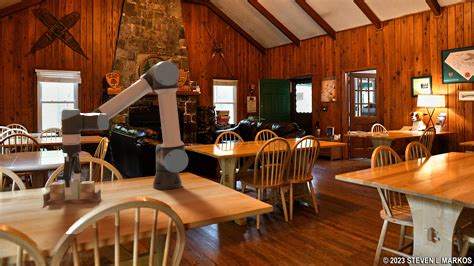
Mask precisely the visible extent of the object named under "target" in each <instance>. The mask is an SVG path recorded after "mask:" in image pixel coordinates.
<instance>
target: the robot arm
mask: <svg viewBox="0 0 474 266" xmlns="http://www.w3.org/2000/svg"><path fill="white" fill-rule="evenodd" d="M179 78H180V71H179V68H178V66H177V65H176V64H175V63H173V62H172V61H168V60H165V61H163V60H162V61H160V62H158V63H156V64H154V65H153V66H151V68H150V69H148V70H147V71H146V72H145V73H144V74H142V75H141V76H140V77H139V79H138V80H137V81H136V82H134V83H133V84H130V86H129V87H127V88H126V89H124V90H123V91H120V92H119V93H118V94H117V95H115V96H114V97H112V98H111V99H109V100H108V101H107V102H105V103H103V104H102V105H100V106H99V107H98V108H96V109H95V110H93V111H91V112H89V113H81V110H80V109H79V108H64V109H62V111H61V119H60V121H61V144H62V145H61V147H62V151H61V152H62V153H63V154H67V155H66V156H64V160H63V161H64V163H63V171H62V177H61V181H63V182H64V183H65V195H72V179H80V180H81V174H83V170H82V166H81V160H80V153H81V152H82V145H81V144H80V143H81V140H82V136H81V135H82V134H81V131H105V130H108V129H109V125H110V124H109V123H110V119H112V118H113V117H115V116H117V115H118V114H119V113H120V112H122V111H123V110H125V109H127V108H128V107H129V106H130V105H132V104H134V103H135V102H137V101H138V100H140V99H141V98H143V96H145V95H147V94H148V93H153V92H155V93H156V94H157V98H158V107H159V116H160V118H159V119H160V124H161V134H162V135H161V136H162V143H160V144H156V147H155V176H154V179H153V182H152V187H153V189H156V190H175V189H179V188H182V182H183V181H182V179H181V176H180V172H182V171H183V170H185V169H186V168H187V166H188V164H189V157H188V153H187V152H186V149H185V143H184V141H182V140H181V132H180V122H179V113H178V102H177V94H176V93H177V91H178V89H179V83H178V82H179ZM72 174H73V176H72ZM72 177H73V178H72Z"/></svg>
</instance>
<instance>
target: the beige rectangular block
mask: <svg viewBox="0 0 474 266" xmlns="http://www.w3.org/2000/svg"><path fill="white" fill-rule="evenodd" d="M71 179H72V195H65V197H66V200H73V199H79V198H80V183H81V178H80V179H74V178H71Z"/></svg>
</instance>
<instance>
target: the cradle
mask: <svg viewBox="0 0 474 266" xmlns="http://www.w3.org/2000/svg"><path fill="white" fill-rule="evenodd" d="M95 185H96V184H95V180H86V181H82V182H80V198H79V199H73V200H66V197H65V183H64V181H53V182H52V183H50V184H49V190H48V191H46V192H45V193H44V194H43V195H42V197H43V206H45V205H46V206H48V205H49V206H50V205H52V206H53V205H76V204H98V203H99V201H100V200H101V198H102V195H101V194H102V192H101V191H102V189H101V188H97V189H96V186H95Z"/></svg>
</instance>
